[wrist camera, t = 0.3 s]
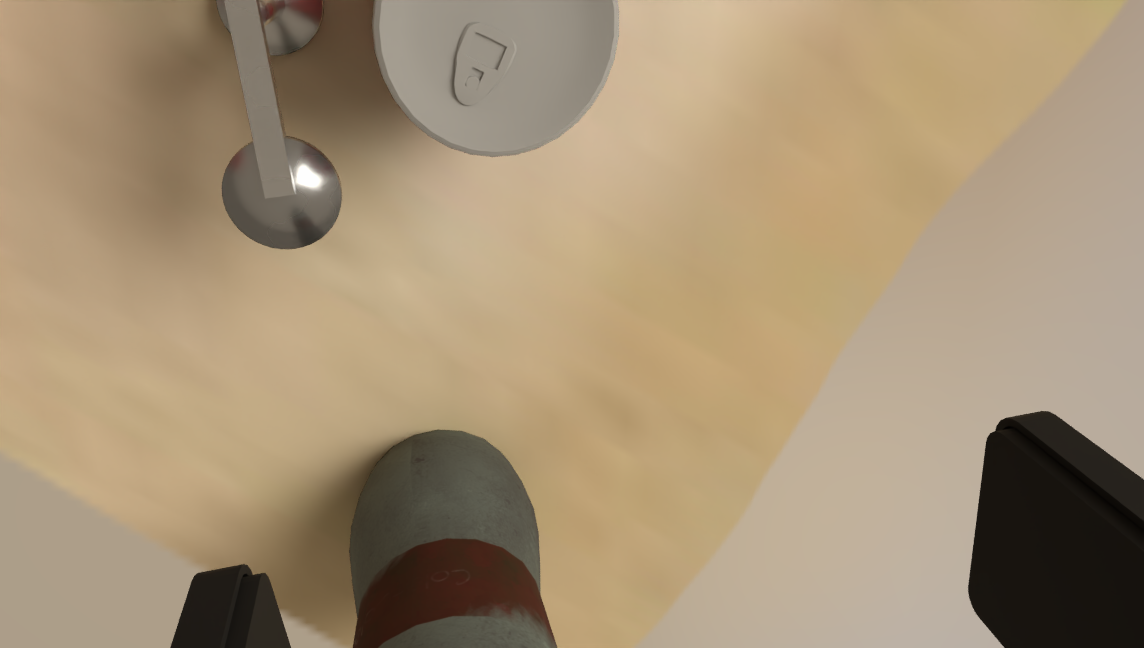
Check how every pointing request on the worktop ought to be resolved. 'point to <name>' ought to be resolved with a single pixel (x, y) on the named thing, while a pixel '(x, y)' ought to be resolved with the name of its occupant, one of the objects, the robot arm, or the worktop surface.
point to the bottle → (446, 550)
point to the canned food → (495, 67)
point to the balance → (275, 133)
